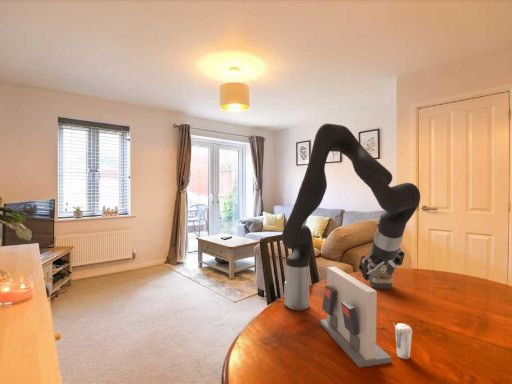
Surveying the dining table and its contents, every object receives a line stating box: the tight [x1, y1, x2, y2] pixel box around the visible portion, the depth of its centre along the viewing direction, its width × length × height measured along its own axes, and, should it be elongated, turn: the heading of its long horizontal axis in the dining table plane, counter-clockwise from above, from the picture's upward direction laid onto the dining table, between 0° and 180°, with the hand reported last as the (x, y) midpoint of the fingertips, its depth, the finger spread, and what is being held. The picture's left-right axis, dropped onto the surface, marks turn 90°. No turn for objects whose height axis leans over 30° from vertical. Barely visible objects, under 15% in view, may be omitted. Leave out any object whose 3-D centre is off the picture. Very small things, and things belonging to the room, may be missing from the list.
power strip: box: [319, 266, 392, 368], centre depth 92 cm, size 10×25×20 cm, turn 12°
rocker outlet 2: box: [341, 301, 359, 336], centre depth 85 cm, size 2×5×8 cm, turn 12°
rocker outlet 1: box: [321, 285, 337, 315], centre depth 97 cm, size 2×5×8 cm, turn 13°
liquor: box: [368, 223, 393, 290], centre depth 140 cm, size 9×9×30 cm
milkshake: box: [393, 322, 413, 360], centre depth 84 cm, size 4×5×10 cm
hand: (377, 275), depth 98 cm, fingers open, 8 cm apart
